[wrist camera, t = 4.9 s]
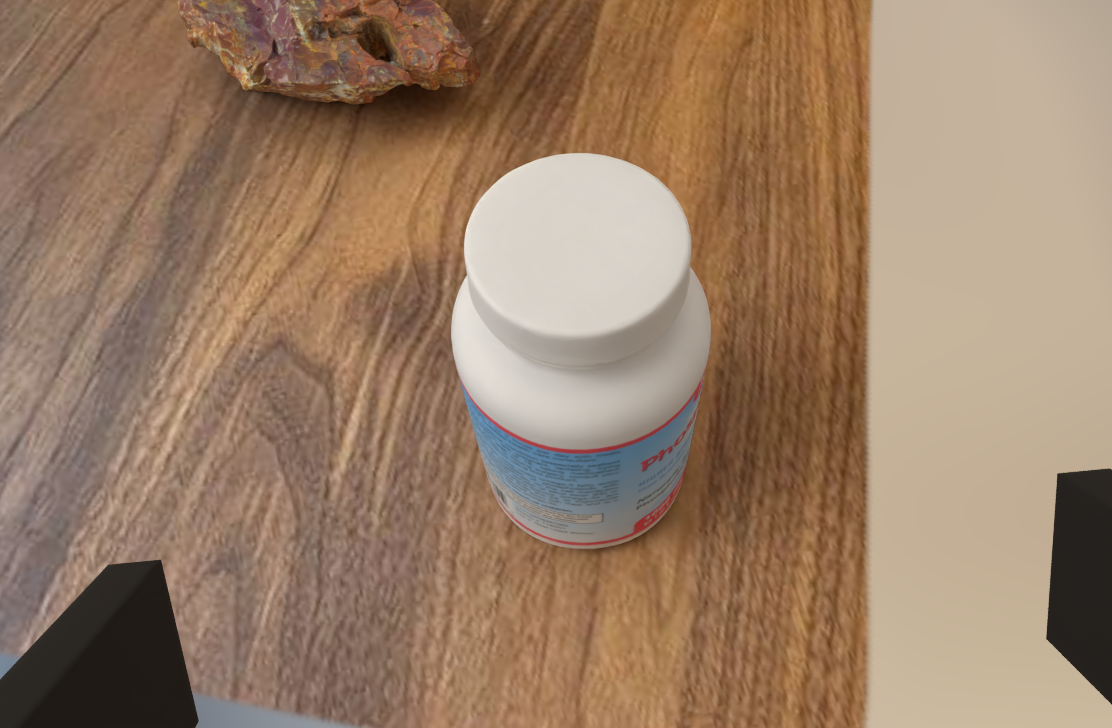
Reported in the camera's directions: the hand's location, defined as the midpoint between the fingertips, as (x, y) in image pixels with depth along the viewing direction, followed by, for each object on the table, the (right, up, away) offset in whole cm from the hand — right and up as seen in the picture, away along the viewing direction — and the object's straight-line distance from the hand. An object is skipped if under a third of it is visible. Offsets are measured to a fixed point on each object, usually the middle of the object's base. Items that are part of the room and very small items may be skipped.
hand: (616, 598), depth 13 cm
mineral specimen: (-9, +16, +24) cm, 30 cm away
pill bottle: (0, 0, +15) cm, 15 cm away
